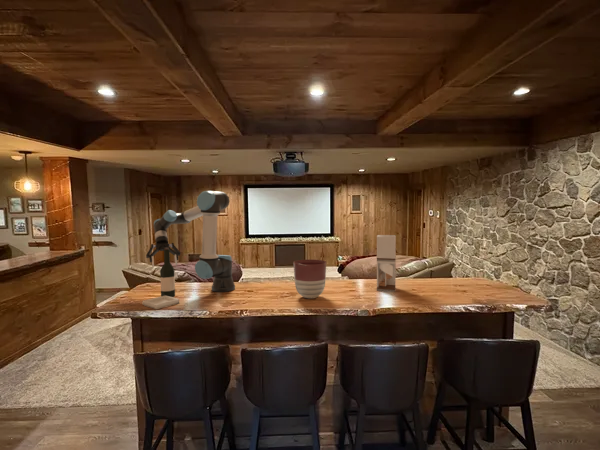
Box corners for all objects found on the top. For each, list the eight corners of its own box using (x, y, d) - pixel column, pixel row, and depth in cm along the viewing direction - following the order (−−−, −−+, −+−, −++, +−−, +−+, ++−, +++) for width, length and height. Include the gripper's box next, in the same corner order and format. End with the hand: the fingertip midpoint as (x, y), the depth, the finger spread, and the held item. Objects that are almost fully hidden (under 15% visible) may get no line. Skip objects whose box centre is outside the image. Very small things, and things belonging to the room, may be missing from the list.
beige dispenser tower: (376, 290, 214) (376, 236, 212) (377, 286, 224) (377, 235, 222) (395, 291, 211) (395, 236, 209) (395, 287, 221) (395, 235, 219)
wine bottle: (162, 299, 200) (161, 249, 198) (159, 296, 207) (157, 247, 205) (177, 296, 205) (175, 248, 203) (173, 293, 211) (171, 246, 210)
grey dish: (165, 299, 199) (165, 295, 198) (179, 303, 190) (179, 298, 190) (142, 305, 187) (142, 300, 187) (156, 309, 179) (156, 304, 179)
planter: (324, 302, 188) (324, 265, 187) (290, 301, 192) (290, 264, 191) (328, 293, 207) (328, 259, 206) (297, 292, 211) (297, 259, 210)
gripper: (180, 241, 229) (185, 266, 217) (140, 243, 217) (142, 270, 205) (181, 234, 224) (186, 259, 212) (140, 236, 212) (143, 263, 200)
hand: (165, 264), depth 208 cm, fingers open, 13 cm apart
